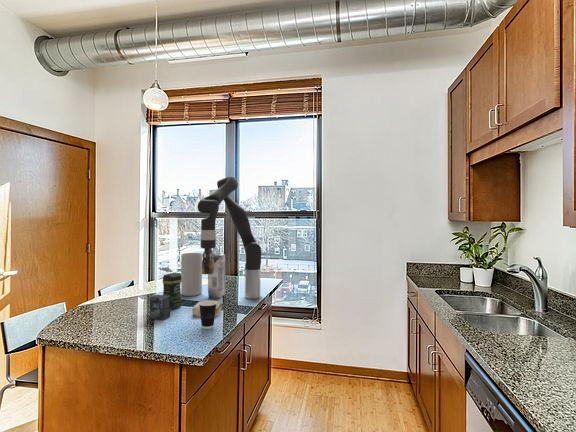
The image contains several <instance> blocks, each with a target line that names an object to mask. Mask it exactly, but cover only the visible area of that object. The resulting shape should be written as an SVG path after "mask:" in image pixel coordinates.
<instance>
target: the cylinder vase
mask: <svg viewBox="0 0 576 432" xmlns="http://www.w3.org/2000/svg"><path fill="white" fill-rule="evenodd" d="M202 254H203V253H201V252H185V253H181V260H180V261H181V265H180V272H181V273H180V274H181V279H182V280H181V284H180V292H181V296H186V297H194V296H199V295H201V294H202V293H203V274H202V260H203V255H202Z"/></svg>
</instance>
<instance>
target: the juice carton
mask: <svg viewBox="0 0 576 432" xmlns="http://www.w3.org/2000/svg"><path fill="white" fill-rule="evenodd" d="M213 259H214V273H213V274H207V294H208V298H210V299H221V298H222V297H223V296H224V295H225V293H226V254H225V253H217V252H215V251H213Z"/></svg>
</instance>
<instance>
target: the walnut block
mask: <svg viewBox="0 0 576 432" xmlns="http://www.w3.org/2000/svg"><path fill="white" fill-rule="evenodd" d="M205 262H207V261H205ZM204 266H205V265H203V259H202V275H208V274H213V273H214V259H211V260H210V261H209V273H205V272H204Z"/></svg>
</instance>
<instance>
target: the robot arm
mask: <svg viewBox="0 0 576 432" xmlns="http://www.w3.org/2000/svg"><path fill="white" fill-rule="evenodd" d="M216 185H217V188H216V189H214V190H213V191H212V193H210V194H209V195H208V196H205V197H204V198H201V199H200V200H199V201H198V203H197V210H198V212H199V213H200V214H208V217H205V218H202V219H201V222H200V226H201V227H200V228H201V229H200V248H201V249H204V251H203V253H202V260H203V265H205V266H204V272H205V273H209V261H210V260H211V259H213V252H214V250H213V249H216V246H217V245H216V241H217V238H216V237H217V236H216V235H217V233H216V221H217V216H218V213H219V209H220V204H221V203H222V202H223V201H224V203H225V205H226V207H227V211H228V213H229V215H230V217H231V220H232V223H233V225H234V227H235V229H236V231H237V234H238V235H239V237H240V239H241V242H242V246H243V251H244V253H245V264H244V265H245V267H244V298H246V299H250V300H251V299H261V265H262V248H261V246H260V245H259V244H258V243H257V240H256V239H255V237H254V235H253V233H252V228H251V223H250V221H249V218H248V217H249V216H248V215H247V212H246V210H245V209H244V207H242V206H241V205H239V204H238V203H237V202H235V200H234V199H233V198H232V196H231V195H230V194H231V193H232V192H234V191H236V190H237V189H238V186H239V183H238V179H236V177H235V176H234V175H228V176H226V177H223V178H221V179H219V180H217V182H216ZM205 261H207V262H205Z"/></svg>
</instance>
